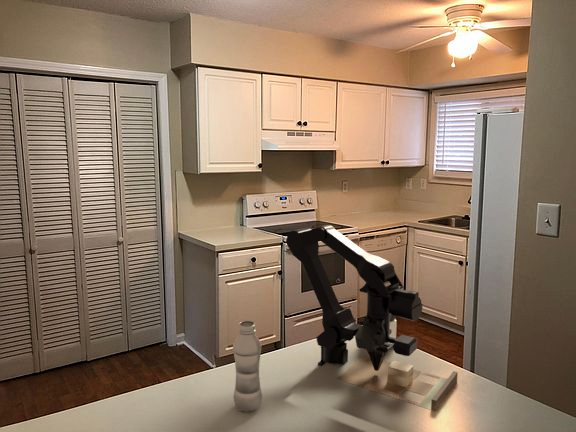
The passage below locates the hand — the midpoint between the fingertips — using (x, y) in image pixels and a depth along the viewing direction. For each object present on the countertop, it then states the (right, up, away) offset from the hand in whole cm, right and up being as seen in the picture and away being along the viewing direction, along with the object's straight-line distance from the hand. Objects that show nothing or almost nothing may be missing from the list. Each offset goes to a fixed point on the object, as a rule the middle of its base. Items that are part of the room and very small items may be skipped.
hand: (376, 370), depth 120 cm
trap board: (+4, -3, -3) cm, 6 cm away
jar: (+5, 0, +19) cm, 20 cm away
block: (+5, -2, -3) cm, 6 cm away
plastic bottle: (-32, -5, -12) cm, 34 cm away
